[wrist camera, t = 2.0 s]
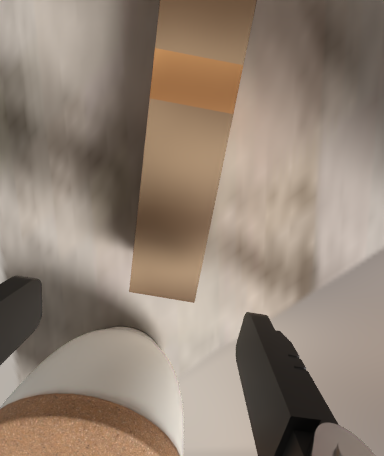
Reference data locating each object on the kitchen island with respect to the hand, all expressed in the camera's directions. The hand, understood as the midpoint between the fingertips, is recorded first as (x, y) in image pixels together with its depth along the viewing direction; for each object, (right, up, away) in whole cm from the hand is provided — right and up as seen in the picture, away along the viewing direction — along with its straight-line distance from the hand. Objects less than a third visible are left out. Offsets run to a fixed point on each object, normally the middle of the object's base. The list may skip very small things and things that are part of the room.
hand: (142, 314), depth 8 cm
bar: (+2, +9, +7) cm, 11 cm away
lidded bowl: (-5, -9, +12) cm, 16 cm away
